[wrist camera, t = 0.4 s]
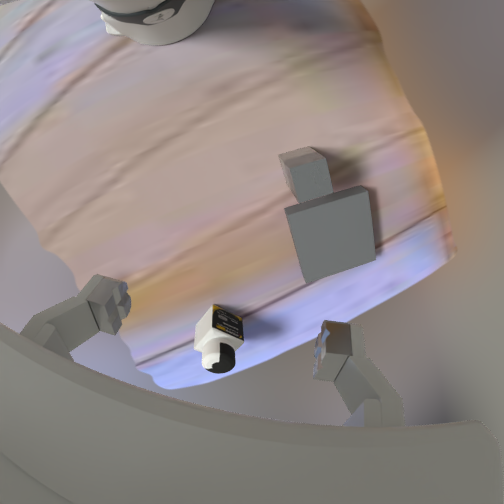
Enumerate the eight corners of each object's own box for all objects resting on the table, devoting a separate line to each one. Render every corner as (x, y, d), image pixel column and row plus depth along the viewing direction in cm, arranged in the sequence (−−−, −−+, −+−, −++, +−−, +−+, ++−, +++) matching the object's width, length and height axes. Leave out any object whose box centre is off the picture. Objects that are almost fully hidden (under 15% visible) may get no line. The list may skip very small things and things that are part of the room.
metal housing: (278, 154, 44) (289, 168, 36) (308, 146, 43) (325, 158, 36) (286, 183, 46) (298, 203, 39) (315, 175, 46) (333, 192, 38)
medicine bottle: (242, 317, 60) (246, 362, 49) (224, 337, 62) (224, 381, 52) (212, 303, 57) (211, 348, 47) (195, 324, 60) (191, 369, 49)
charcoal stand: (284, 208, 48) (287, 215, 46) (360, 185, 47) (367, 190, 45) (302, 274, 55) (306, 283, 53) (369, 251, 54) (375, 259, 52)
